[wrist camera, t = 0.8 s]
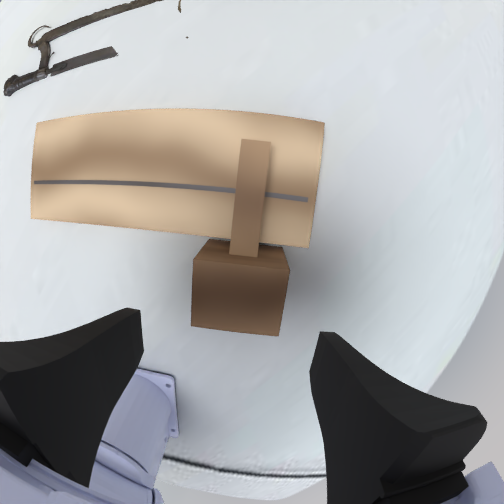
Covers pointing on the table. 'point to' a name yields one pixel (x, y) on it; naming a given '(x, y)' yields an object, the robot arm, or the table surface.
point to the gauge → (242, 261)
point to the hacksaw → (105, 53)
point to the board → (174, 171)
